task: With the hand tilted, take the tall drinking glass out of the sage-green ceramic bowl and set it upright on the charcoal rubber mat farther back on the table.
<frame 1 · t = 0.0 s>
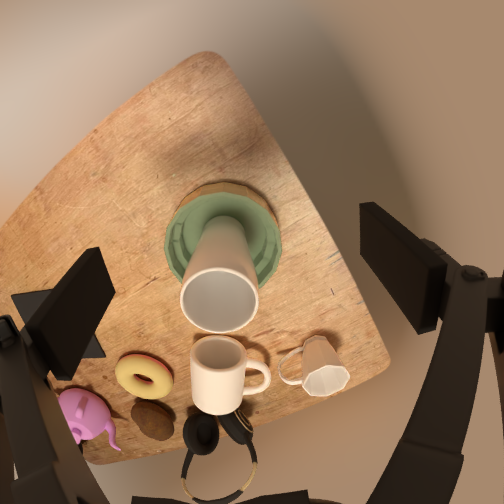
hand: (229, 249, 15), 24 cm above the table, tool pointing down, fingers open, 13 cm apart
potato: (156, 409, 55), on the table
cup: (306, 346, 50), on the table
donut: (145, 370, 51), on the table
headphones: (218, 410, 56), on the table
drinking glass: (223, 233, 40), resting on bowl
mug: (231, 357, 50), on the table
mat: (56, 326, 46), on the table
teapot: (88, 402, 55), on the table
bowl: (223, 233, 41), on the table
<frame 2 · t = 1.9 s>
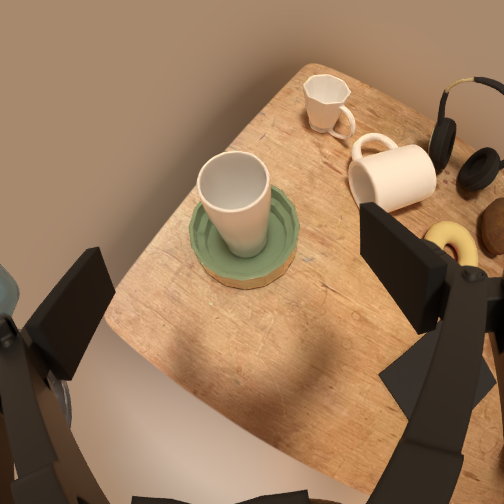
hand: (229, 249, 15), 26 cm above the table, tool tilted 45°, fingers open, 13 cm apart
potato: (489, 231, 41), on the table
cup: (327, 129, 49), on the table
donut: (445, 259, 40), on the table
headphones: (451, 170, 45), on the table
drinking glass: (246, 240, 43), resting on bowl
mug: (377, 183, 45), on the table
mat: (443, 380, 35), on the table
bowl: (246, 241, 43), on the table
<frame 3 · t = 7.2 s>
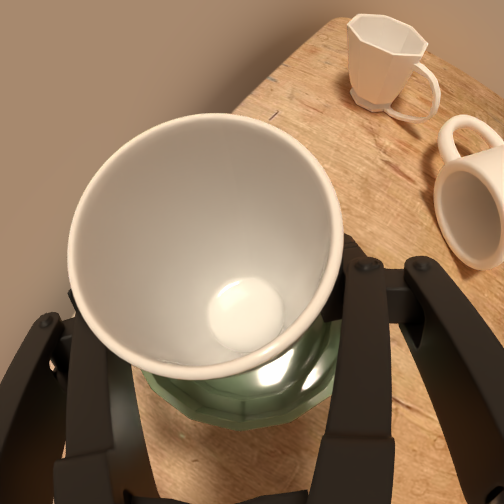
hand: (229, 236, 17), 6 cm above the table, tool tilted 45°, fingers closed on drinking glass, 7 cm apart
cup: (381, 107, 27), on the table
drinking glass: (248, 318, 21), resting on bowl, touching gripper
mug: (469, 201, 23), on the table
bowl: (248, 318, 21), on the table
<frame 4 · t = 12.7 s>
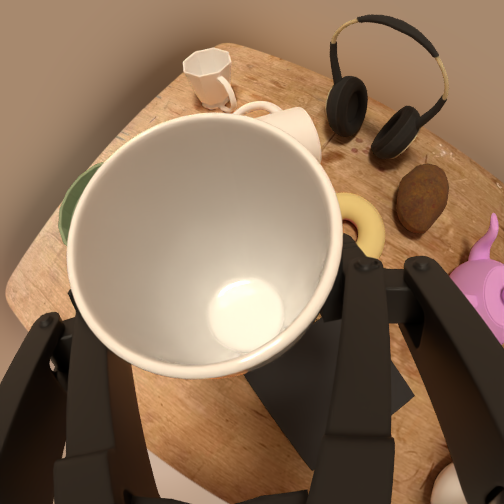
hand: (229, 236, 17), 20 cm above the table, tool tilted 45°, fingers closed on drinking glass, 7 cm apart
potato: (413, 207, 38), on the table
flower vase: (456, 480, 26), on the table
cup: (220, 105, 46), on the table
donut: (342, 238, 37), on the table
headphones: (365, 138, 42), on the table
drinking glass: (247, 317, 21), point 14 cm above the table, touching gripper
mug: (264, 155, 42), on the table
mat: (331, 387, 32), on the table
teapot: (471, 307, 33), on the table
bowl: (118, 221, 40), on the table
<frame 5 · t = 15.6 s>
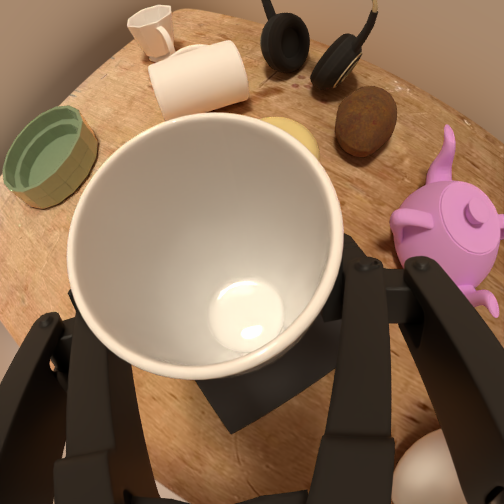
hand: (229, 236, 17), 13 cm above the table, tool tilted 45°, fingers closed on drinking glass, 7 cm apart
potato: (360, 135, 35), on the table
flower vase: (429, 465, 23), on the table
cup: (166, 58, 42), on the table
donut: (274, 165, 34), on the table
headphones: (308, 75, 39), on the table
drinking glass: (247, 318, 21), point 8 cm above the table, touching gripper
mug: (200, 95, 39), on the table
mat: (254, 328, 28), on the table
teapot: (436, 244, 30), on the table
bowl: (58, 166, 37), on the table
when the fingers open (6 cm above the table, at t = 18.0 s): drinking glass stays where it is, resting on mat.
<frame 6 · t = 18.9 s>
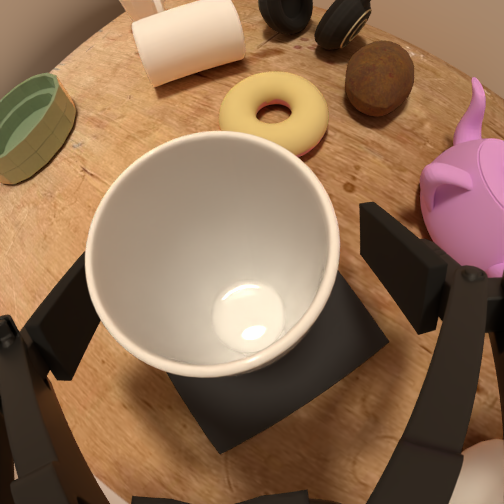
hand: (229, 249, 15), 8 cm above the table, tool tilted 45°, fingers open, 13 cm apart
potato: (373, 97, 29), on the table
flower vase: (463, 484, 16), on the table
cup: (156, 27, 36), on the table
donut: (274, 126, 28), on the table
headphones: (312, 38, 32), on the table
drinking glass: (250, 319, 22), resting on mat
mug: (191, 58, 32), on the table
mat: (250, 319, 22), on the table
teapot: (467, 218, 24), on the table
bowl: (33, 138, 31), on the table
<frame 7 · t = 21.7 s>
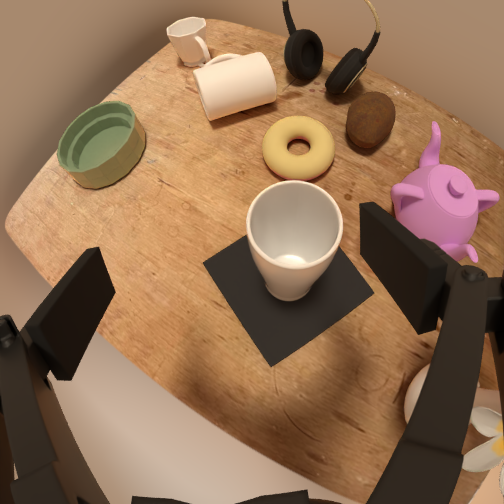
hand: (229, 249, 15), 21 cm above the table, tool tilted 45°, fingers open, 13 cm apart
potato: (366, 131, 43), on the table
flower vase: (435, 399, 30), on the table
cup: (198, 64, 50), on the table
donut: (298, 154, 42), on the table
headphones: (322, 82, 46), on the table
drinking glass: (288, 278, 36), resting on mat
mug: (233, 97, 46), on the table
mat: (288, 279, 36), on the table
teapot: (429, 216, 38), on the table
bowl: (107, 153, 45), on the table
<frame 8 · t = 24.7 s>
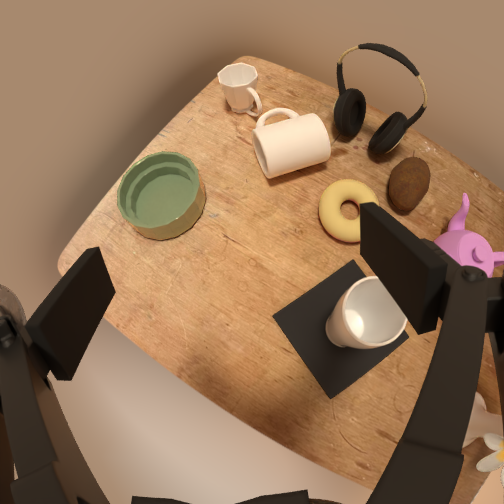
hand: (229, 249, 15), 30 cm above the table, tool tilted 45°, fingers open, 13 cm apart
potato: (403, 191, 49), on the table
flower vase: (451, 416, 36), on the table
cup: (246, 110, 56), on the table
donut: (347, 215, 48), on the table
headphones: (364, 138, 53), on the table
drinking glass: (343, 328, 42), resting on mat
mug: (285, 151, 53), on the table
mat: (343, 328, 42), on the table
teapot: (452, 269, 44), on the table
bowl: (166, 202, 51), on the table
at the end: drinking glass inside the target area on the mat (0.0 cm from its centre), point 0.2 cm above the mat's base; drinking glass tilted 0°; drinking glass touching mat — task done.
